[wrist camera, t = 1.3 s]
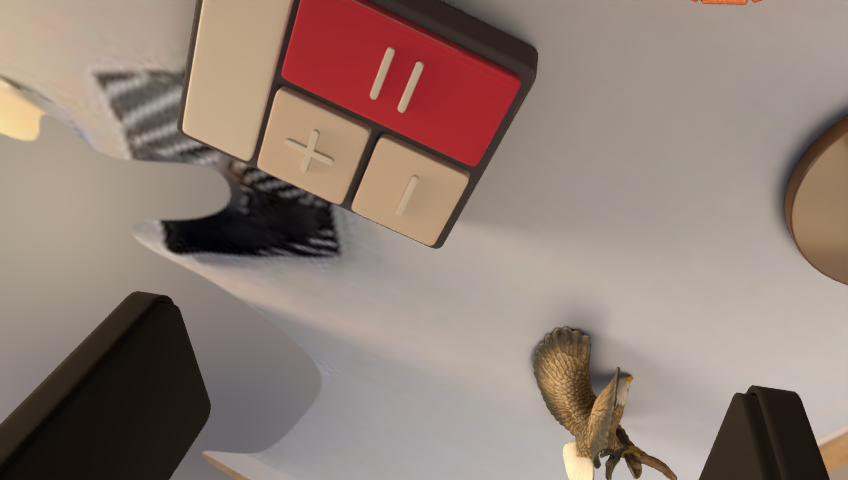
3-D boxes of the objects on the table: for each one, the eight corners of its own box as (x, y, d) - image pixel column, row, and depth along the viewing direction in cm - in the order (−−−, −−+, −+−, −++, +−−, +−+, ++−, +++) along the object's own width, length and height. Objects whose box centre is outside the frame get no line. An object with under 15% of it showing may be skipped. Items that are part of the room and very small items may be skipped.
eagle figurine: (704, 421, 36) (645, 338, 32) (656, 529, 34) (585, 457, 29) (599, 387, 42) (537, 314, 38) (552, 478, 40) (480, 411, 36)
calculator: (436, 261, 31) (166, 139, 30) (449, 217, 35) (207, 106, 33) (540, 78, 25) (199, -87, 23) (542, 46, 28) (246, -100, 27)
